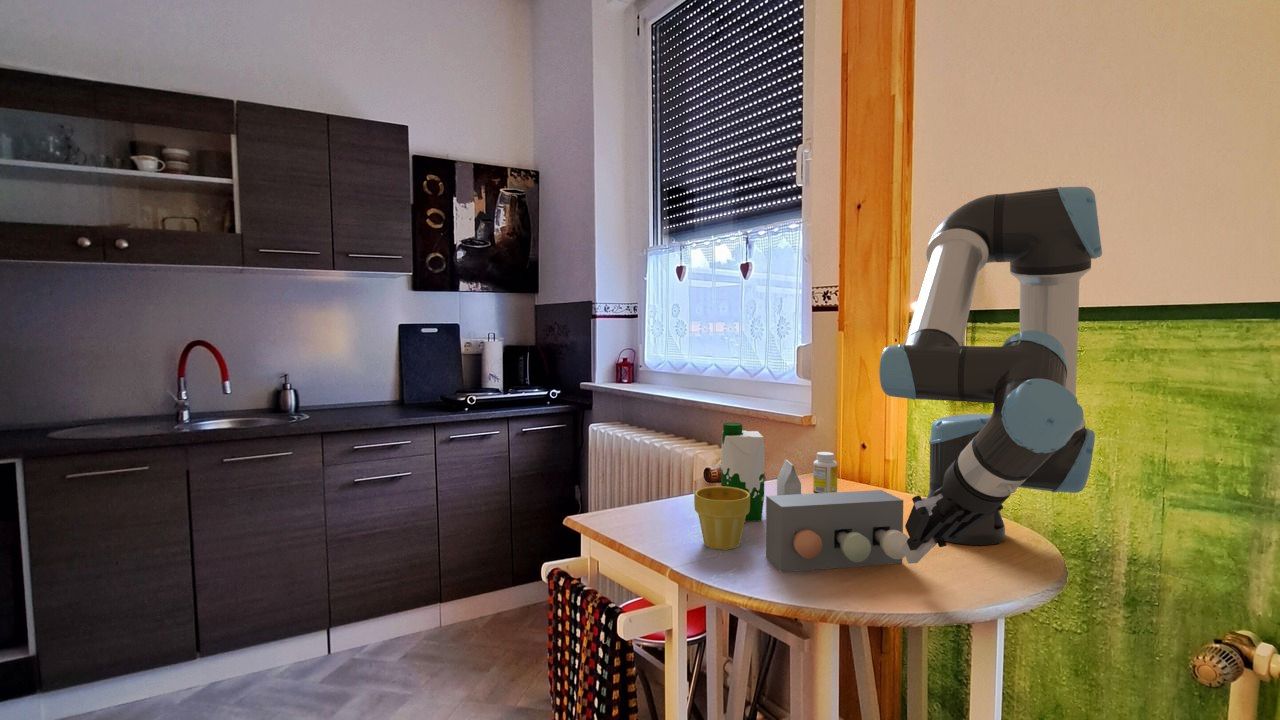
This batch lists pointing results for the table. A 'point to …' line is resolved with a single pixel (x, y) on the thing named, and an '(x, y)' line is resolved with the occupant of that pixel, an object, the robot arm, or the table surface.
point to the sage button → (853, 545)
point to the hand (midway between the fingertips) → (909, 555)
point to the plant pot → (722, 515)
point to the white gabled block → (788, 480)
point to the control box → (829, 526)
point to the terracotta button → (807, 543)
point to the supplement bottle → (824, 473)
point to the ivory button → (891, 542)
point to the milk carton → (744, 465)
